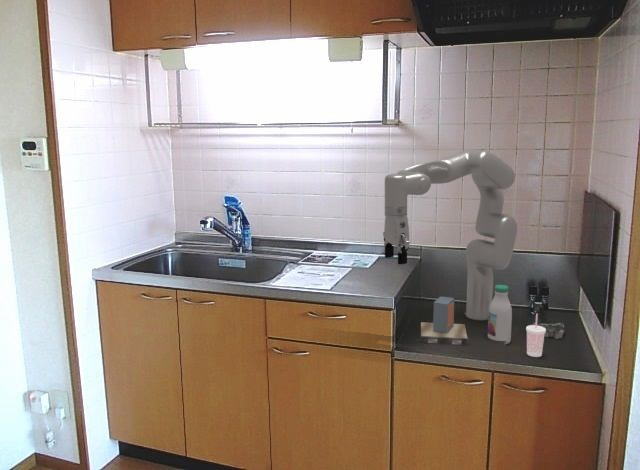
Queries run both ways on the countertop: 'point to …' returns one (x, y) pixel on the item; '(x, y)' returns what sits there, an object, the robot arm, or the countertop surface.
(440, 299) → the carton
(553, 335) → the egg carton
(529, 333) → the beverage cup
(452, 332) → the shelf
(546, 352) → the countertop surface
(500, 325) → the milk bottle
